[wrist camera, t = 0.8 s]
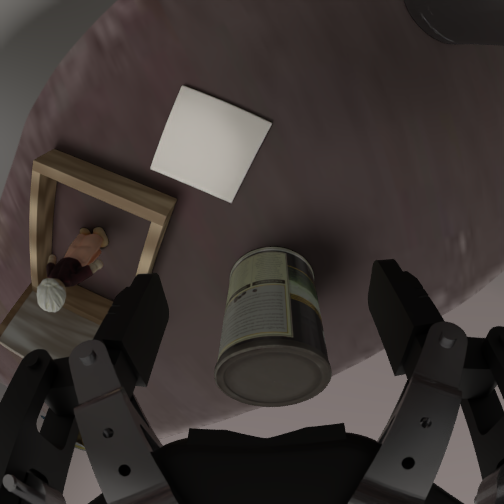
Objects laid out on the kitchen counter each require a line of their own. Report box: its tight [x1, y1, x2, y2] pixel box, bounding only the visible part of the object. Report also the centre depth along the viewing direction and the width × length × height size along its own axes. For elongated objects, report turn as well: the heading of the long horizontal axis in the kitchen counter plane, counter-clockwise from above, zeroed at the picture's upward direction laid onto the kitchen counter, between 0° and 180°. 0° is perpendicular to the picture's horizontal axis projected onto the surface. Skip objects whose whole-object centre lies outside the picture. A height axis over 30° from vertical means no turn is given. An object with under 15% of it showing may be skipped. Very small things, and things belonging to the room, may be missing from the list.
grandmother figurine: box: [37, 227, 109, 312], centre depth 28 cm, size 8×4×13 cm, turn 100°
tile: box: [150, 85, 272, 203], centre depth 27 cm, size 9×9×1 cm
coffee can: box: [214, 247, 332, 407], centre depth 30 cm, size 10×10×14 cm
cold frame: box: [0, 149, 177, 359], centre depth 29 cm, size 21×18×14 cm
